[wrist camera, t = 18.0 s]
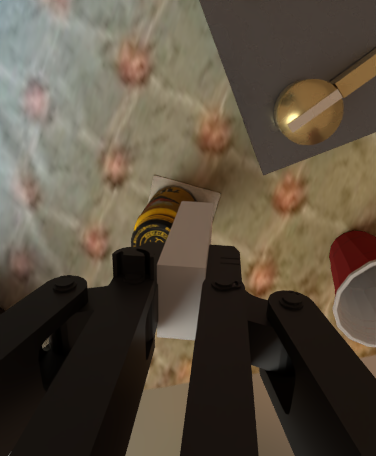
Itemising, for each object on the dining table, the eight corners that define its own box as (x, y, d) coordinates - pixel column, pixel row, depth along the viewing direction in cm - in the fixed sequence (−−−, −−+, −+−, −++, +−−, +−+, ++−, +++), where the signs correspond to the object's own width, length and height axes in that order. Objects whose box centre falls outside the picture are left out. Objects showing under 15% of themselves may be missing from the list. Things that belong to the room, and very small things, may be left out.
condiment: (153, 174, 44) (129, 205, 33) (221, 193, 44) (218, 229, 33) (142, 228, 47) (116, 272, 36) (205, 245, 47) (198, 295, 36)
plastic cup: (310, 294, 48) (335, 357, 37) (305, 218, 44) (332, 263, 33) (398, 286, 46) (452, 350, 35) (401, 206, 42) (462, 249, 31)
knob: (293, 151, 39) (300, 158, 35) (262, 105, 38) (266, 107, 34) (398, 78, 35) (418, 78, 32) (368, 24, 34) (386, 17, 30)
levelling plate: (187, -32, 36) (185, -38, 34) (475, -190, 30) (491, -209, 28) (261, 171, 42) (263, 175, 41) (509, 75, 36) (524, 74, 34)
